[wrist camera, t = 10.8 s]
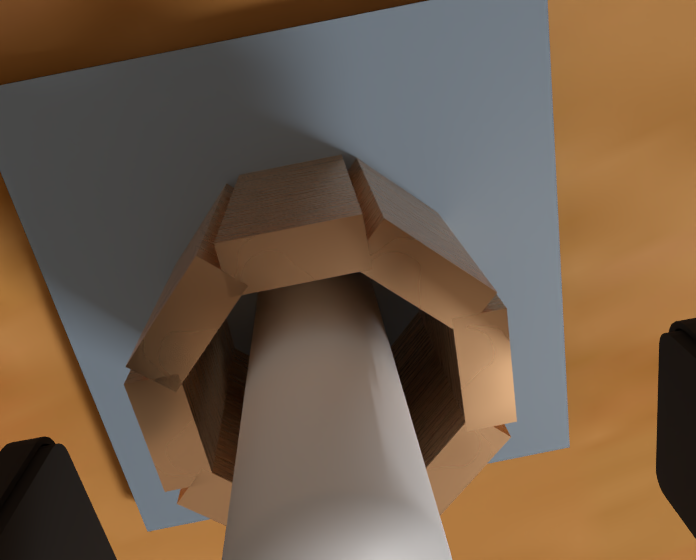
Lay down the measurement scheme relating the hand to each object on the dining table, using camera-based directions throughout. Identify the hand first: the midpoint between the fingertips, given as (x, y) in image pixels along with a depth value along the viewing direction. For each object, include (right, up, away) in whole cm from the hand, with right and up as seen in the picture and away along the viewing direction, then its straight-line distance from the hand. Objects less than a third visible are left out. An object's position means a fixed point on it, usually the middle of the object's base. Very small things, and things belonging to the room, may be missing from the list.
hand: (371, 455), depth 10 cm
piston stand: (-1, +3, +7) cm, 8 cm away
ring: (-1, +2, +6) cm, 7 cm away
